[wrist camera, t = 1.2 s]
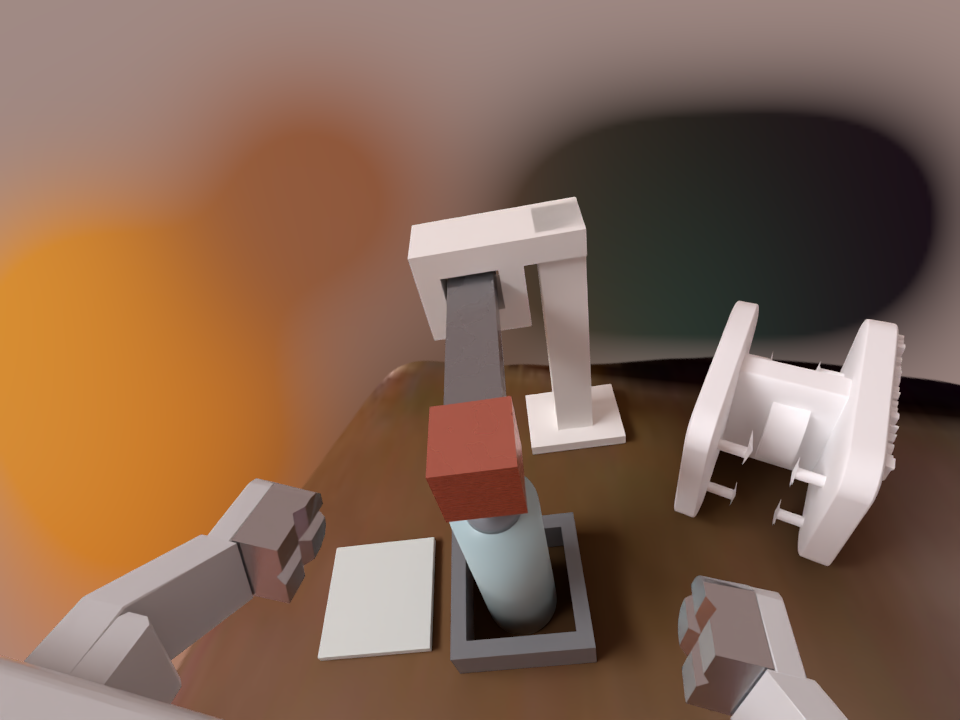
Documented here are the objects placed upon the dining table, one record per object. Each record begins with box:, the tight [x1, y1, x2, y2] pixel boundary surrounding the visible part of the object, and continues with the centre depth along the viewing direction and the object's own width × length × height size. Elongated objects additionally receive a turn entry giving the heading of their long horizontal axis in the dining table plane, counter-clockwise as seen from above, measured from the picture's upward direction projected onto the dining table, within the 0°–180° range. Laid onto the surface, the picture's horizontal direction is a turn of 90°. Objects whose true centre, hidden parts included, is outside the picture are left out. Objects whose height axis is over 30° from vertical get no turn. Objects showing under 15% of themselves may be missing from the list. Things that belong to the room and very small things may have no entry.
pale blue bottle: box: [450, 476, 557, 635], centre depth 33 cm, size 5×5×14 cm
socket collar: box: [450, 512, 597, 673], centre depth 36 cm, size 9×9×3 cm
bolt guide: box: [408, 197, 626, 454], centre depth 40 cm, size 14×6×21 cm, turn 92°
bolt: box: [426, 270, 528, 522], centre depth 31 cm, size 4×21×4 cm, turn 2°
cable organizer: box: [674, 301, 906, 566], centre depth 37 cm, size 15×11×12 cm
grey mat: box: [318, 537, 436, 661], centre depth 39 cm, size 8×8×1 cm
